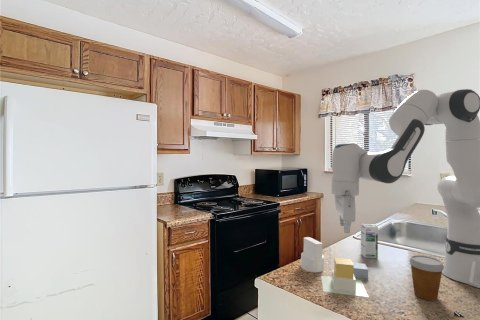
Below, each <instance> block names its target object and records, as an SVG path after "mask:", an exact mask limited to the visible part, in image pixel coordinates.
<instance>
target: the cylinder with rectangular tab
mask: <svg viewBox="0 0 480 320" xmlns="http://www.w3.org/2000/svg"><path fill="white" fill-rule="evenodd" d="M302 250H303V252H301V253H300V255H301V256H300V267H301V269H302V270H303V271H306V272H309V273H310V272H311V273H321V272H323V271H324V270H325V255H324V254H323V243H322V242H321V241H319V240H317V239H315V238H312V237H310V236H306V237H303V249H302Z"/></svg>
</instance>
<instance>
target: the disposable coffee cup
mask: <svg viewBox="0 0 480 320" xmlns="http://www.w3.org/2000/svg"><path fill="white" fill-rule="evenodd" d="M408 261H409V265H410V269H411V277H412V285H413V286H412V287H413V294H414V295H415V296H416V297H418V298H420V299H422V300H426V301H432V302H433V301H437V300H438V296H439V293H440V285H441V279H442V275H443V273H442V271H443V269H444V266H443V265H444V264H443V261H441V260H440V259H438V258H435V257H431V256H428V255H422V254H414V255H411V256H410V259H408Z"/></svg>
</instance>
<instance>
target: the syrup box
mask: <svg viewBox="0 0 480 320" xmlns="http://www.w3.org/2000/svg"><path fill="white" fill-rule="evenodd" d="M378 242H379V227H378V226H377V225H376V224H374V223H370V224H369V223H361V224H360V255H361V256H362V257H364V259H366V258H367V259H368V258H369V259H378V258H379V255H378V254H379V250H378V249H379V243H378Z"/></svg>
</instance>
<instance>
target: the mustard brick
mask: <svg viewBox="0 0 480 320" xmlns="http://www.w3.org/2000/svg"><path fill="white" fill-rule="evenodd" d="M333 258H334V260H333V261H334V262H333V263H334V264H333V265H334V266H333V267H334V268H333V269H334V271H335V275H336V277H343V278H352V279H353V269H354V265H353V263H354V262H353V261H352V259H351V258H341V257H333Z"/></svg>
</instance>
